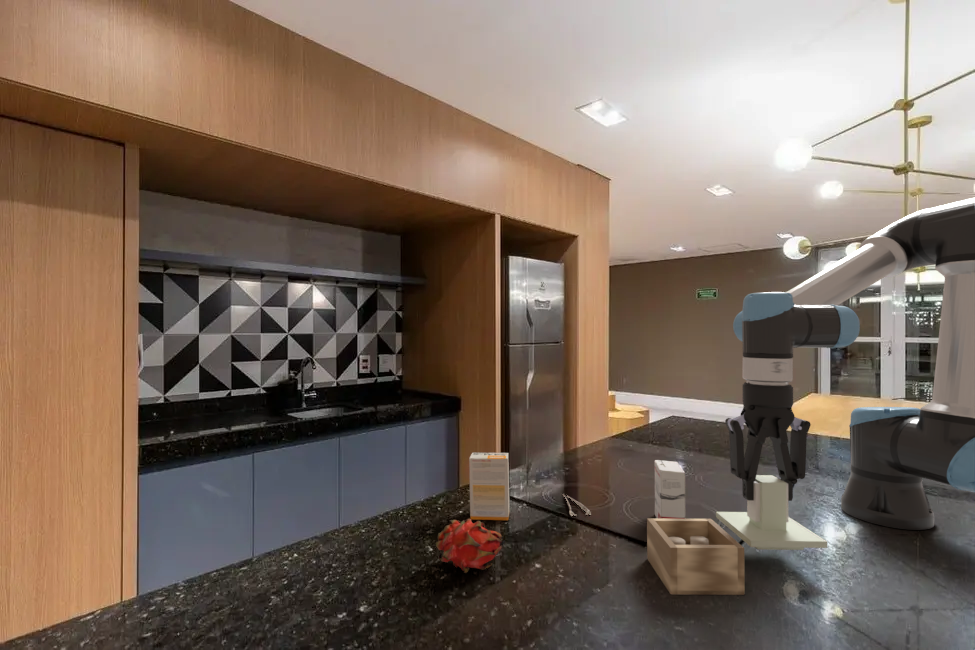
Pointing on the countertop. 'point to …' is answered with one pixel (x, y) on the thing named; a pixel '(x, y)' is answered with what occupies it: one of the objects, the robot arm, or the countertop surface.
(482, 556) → the dragon fruit
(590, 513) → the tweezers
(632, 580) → the countertop surface
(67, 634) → the countertop surface
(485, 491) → the supplement box
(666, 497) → the ink box
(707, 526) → the storage box
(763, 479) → the lid
